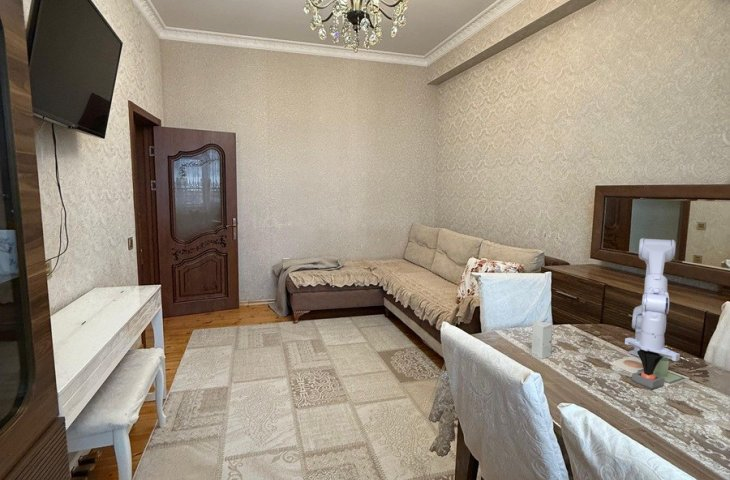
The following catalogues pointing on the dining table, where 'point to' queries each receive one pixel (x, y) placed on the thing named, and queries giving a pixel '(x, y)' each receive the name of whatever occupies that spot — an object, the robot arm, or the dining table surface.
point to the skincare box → (541, 339)
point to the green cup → (662, 367)
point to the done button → (648, 376)
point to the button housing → (648, 381)
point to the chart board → (636, 366)
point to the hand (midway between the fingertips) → (648, 374)
